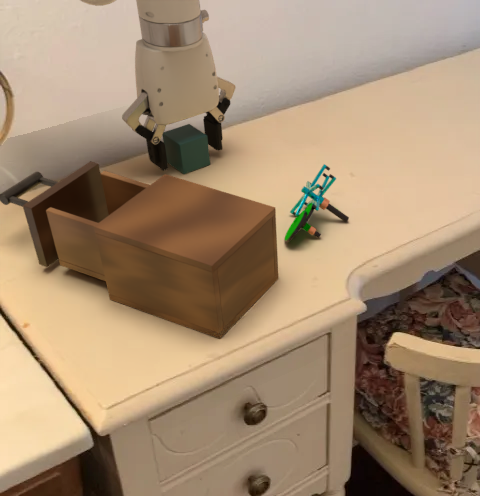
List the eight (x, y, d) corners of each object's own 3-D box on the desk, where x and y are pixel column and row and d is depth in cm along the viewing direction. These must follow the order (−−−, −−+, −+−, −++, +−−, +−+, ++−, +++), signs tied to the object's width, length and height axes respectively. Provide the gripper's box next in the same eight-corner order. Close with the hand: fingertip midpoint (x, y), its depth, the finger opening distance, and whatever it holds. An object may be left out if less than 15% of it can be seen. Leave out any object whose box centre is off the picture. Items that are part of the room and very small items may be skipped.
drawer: (-6, 248, 98) (-25, 189, 93) (59, 203, 106) (45, 147, 101) (135, 298, 93) (123, 239, 87) (193, 247, 100) (186, 190, 95)
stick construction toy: (299, 180, 110) (327, 150, 104) (342, 210, 113) (372, 183, 106) (266, 247, 105) (293, 220, 98) (312, 278, 107) (341, 253, 101)
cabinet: (109, 299, 94) (93, 226, 87) (175, 244, 102) (164, 173, 96) (220, 339, 90) (211, 265, 83) (278, 278, 98) (275, 207, 92)
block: (183, 174, 114) (179, 144, 111) (166, 162, 117) (161, 132, 114) (210, 164, 117) (207, 135, 114) (192, 152, 119) (189, 123, 116)
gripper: (212, 4, 110) (223, 128, 122) (92, 34, 101) (117, 165, 113) (246, 22, 106) (254, 148, 118) (125, 54, 97) (147, 187, 110)
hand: (187, 155), depth 116 cm, fingers open, 8 cm apart
